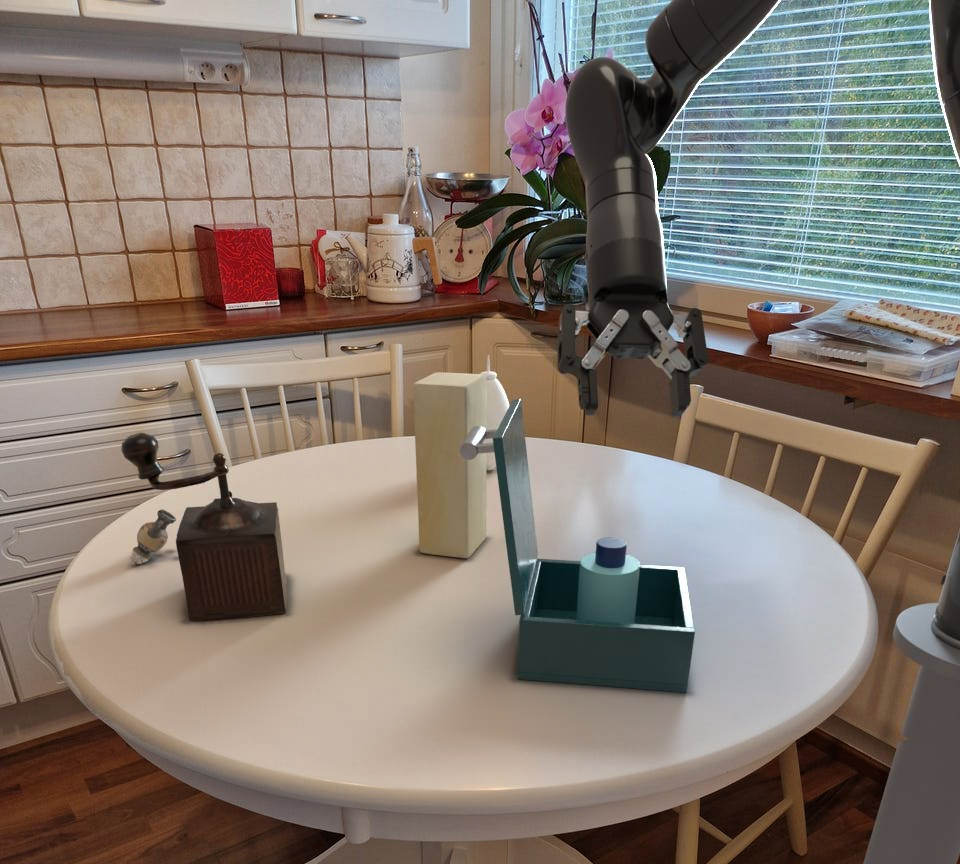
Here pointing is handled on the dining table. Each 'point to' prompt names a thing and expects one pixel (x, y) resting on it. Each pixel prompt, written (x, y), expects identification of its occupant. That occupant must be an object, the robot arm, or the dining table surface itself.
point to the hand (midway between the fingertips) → (635, 413)
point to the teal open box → (607, 632)
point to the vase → (152, 537)
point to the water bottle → (608, 583)
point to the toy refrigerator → (449, 463)
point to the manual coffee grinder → (221, 544)
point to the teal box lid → (511, 495)
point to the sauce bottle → (493, 408)
